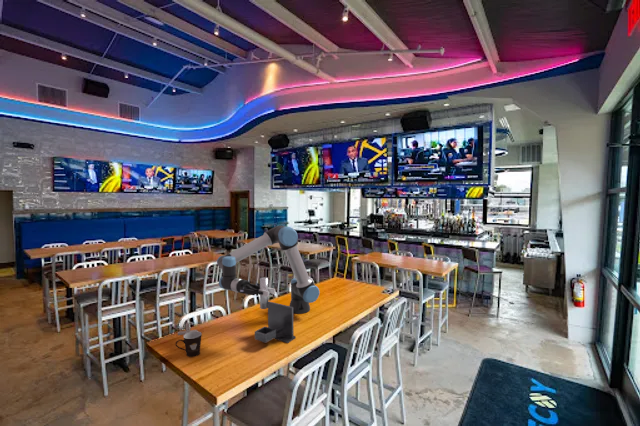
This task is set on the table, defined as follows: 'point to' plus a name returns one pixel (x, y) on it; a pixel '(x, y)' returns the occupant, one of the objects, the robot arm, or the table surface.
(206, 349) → the table surface
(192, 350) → the coffee mug
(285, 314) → the cup bracket
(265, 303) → the rail post
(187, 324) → the pipe connector
